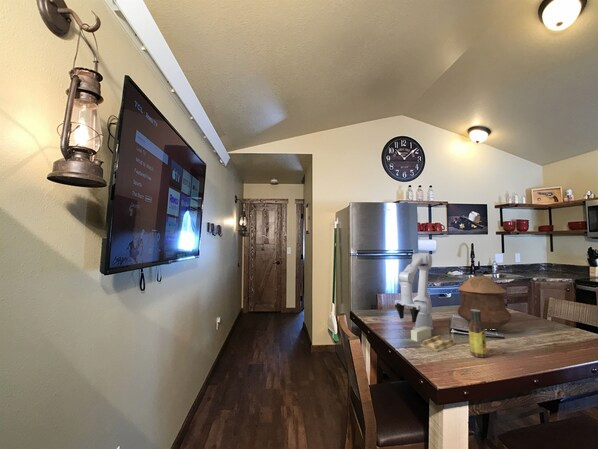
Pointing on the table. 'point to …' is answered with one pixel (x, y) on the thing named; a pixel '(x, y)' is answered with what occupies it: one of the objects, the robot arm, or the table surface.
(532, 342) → the table surface
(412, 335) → the cream rectangular block
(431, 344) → the tan flat piece
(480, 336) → the sauce bottle
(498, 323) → the pottery vessel
